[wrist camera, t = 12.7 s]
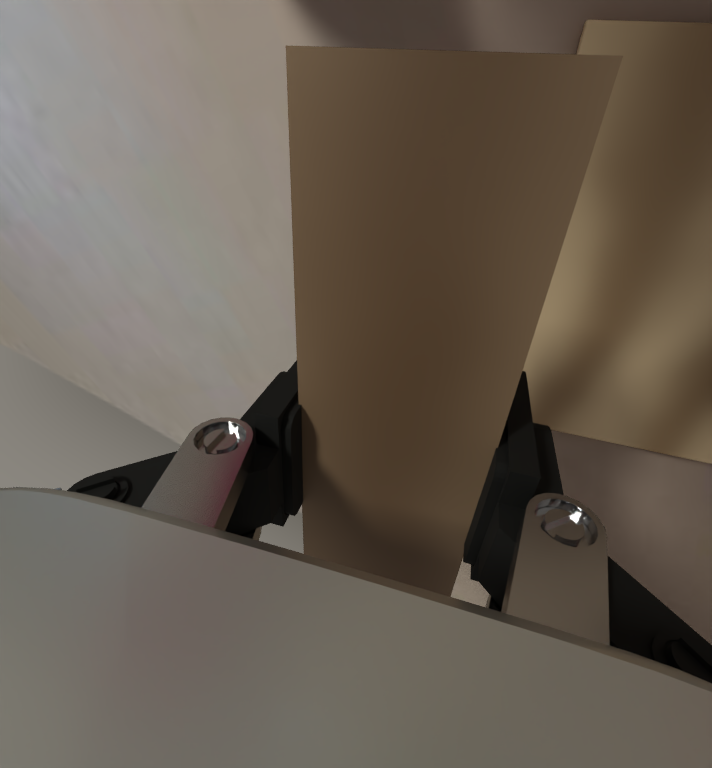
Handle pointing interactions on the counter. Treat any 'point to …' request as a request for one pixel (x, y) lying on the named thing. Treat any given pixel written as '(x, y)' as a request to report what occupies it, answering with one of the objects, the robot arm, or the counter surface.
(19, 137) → the counter surface
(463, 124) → the walnut turner
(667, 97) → the cork mat
